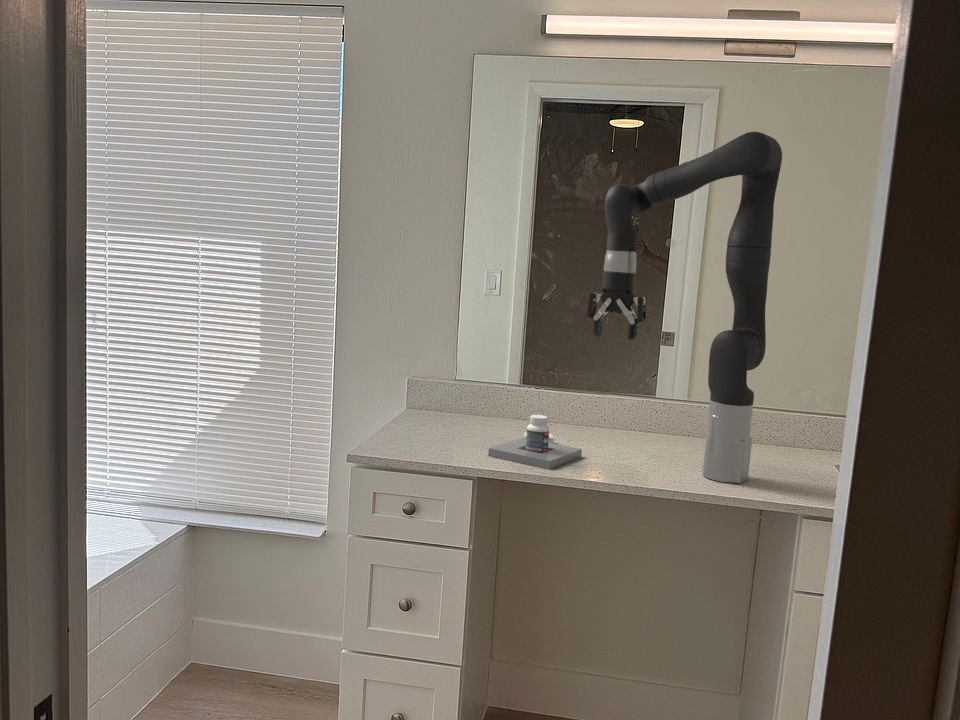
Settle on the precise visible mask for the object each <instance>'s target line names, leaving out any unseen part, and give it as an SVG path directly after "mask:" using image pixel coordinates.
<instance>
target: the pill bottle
mask: <svg viewBox="0 0 960 720" xmlns="http://www.w3.org/2000/svg"><path fill="white" fill-rule="evenodd" d="M548 420H549V419H548V416H546V415H542V414H531V415H530V418H529V421H530V423H529V424H528V425H527V427H526V432H527V439H526V451H531V452H536V453H541V454H542V453H545V452H547V451H548V441H549V434H550V427H549V426H548V425H547V424H548Z"/></svg>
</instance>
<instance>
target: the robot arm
mask: <svg viewBox="0 0 960 720" xmlns="http://www.w3.org/2000/svg"><path fill="white" fill-rule="evenodd" d="M782 161H783V152H782V147H781V145H780V143H779V141H778V140H777V139H776V138H774V137H772V136H770V135H767V134H765V133H764V132H760V131H749V132H745V133H743V134H741V135H739V136H737V137H736V138H733V139H732V140H730V141H728V142H726V143H725V144H723V145H721V146H719V147H718V148H716V149H714V150H711V151H710V152H708V153H706V154H704V155H701V156H699V157H696V158H695V159H692V160H688V161H686V162H684V163H680V164H678V165H675V166H673V167H669V168H667V169H663V170H661V171H659V172H656V173H653V174H650V175H649V176H648V177H646V178H645V180H644V181H642V182H640V183H637V184H634V185H630V184H624V183H618V184H614V185H612V186H611V187H610V188H609V190H608V191H607V192H606V195H605V200H604V214H605V220H606V221H605V222H606V228H607V239H606V241H607V242H606V250H605V252H606V253H605V257H604V262H603V263H604V264H603V274H602V276H603V277H602V278H603V279H602V291H601V293H597V292H590V293H589V294H588V295H589V296H588V302H587V303H588V304H587V313H586V317H587V318H590V319H593V331H592V332H593V335H594V336H595V337H602V331H603V320H602V319H604V317H605V316H606V315H607V314H608V313H615V314H623V315H624V316H625V317H626V318H627V320H628V323H630V324H628V335H627V340H628V341H634V340H635V339H636V338H637V335H638V325H639V324H641V323H645V322H646V320H647V297H646V296H639V297H638V296H637V297H636V296H635V294H634V293H635V286H636V276H637V275H636V272H637V249H638V230H637V228H635V227H634V226H633V218H632V217H633V216H637V215H641V214H643V213H646V212H647V211H649V210H652V209H654V208H655V207H657V206H659V205H662V204H666V203H668V202H672V201H674V200H677V199H680V198H683V197H685V196H688V195H690V194H692V193H694V192H696V191H697V190H699V189H701V188H702V187H705V185H708V184H711V183H713V182H715V181H718V180H722V179H725V178H730V177H737V176H741V195H740V196H741V197H740V201H739V206H738V209H737V212H736V215H735V216H734V219H733V222H732V225H731V228H730V230H729V233H728V237H727V243H726V253H725V273H726V279H727V282H728V283H727V284H728V286H729V289H730V292H731V296H732V300H733V307H734V308H733V310H734V311H733V320H732V323H733V324H732V329H727V330H724V331H721V332H719V333H718V334H716V335H715V337H714V339H713V340H712V343H711V345H710V350H709V357H708V358H709V359H708V373H707V374H708V376H707V377H708V378H707V383H708V388H709V392H710V394H709V395H710V397H709V405H708V406H709V409H708V416H707V425H706V426H707V428H706V435H705V436H706V438H705V448H704V457H703V464H702V476H703V477H704V478H707V479H709V480H713V481H717V482H723V483H734V484H735V483H736V484H742V483H744V482H745V481H747V480H748V479H749V473H750V464H751V453H752V444H753V436H751V429H752V420H753V410H754V409H753V408H754V401H755V393H754V391H753V390H752V389H750V388H749V386H748V384H747V382H748V381H747V378H748V376H747V375H748V371H752V370H753V371H754V370H755V369H757V368H758V367H759V366H760V365H761V363H762V362H763V360H764V358H765V354H766V345H767V343H766V337H767V336H766V307H767V296H768V285H769V284H768V283H769V282H768V280H769V273H770V272H769V271H770V265H771V255H772V239H773V236H772V235H773V227H774V225H773V224H774V211H775V209H774V207H775V197H776V192H777V186H778V182H779V177H780V172H781V167H782ZM600 301H601V303H602V305H601V306H600V307H599V308H598V303H599V302H600ZM634 303H635V305H636V306H637V312H636V313H637V314H636V313H635V310H634V309H633V307H632V306H633V304H634ZM597 308H598V310H597Z"/></svg>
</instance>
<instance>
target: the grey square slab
mask: <svg viewBox="0 0 960 720" xmlns="http://www.w3.org/2000/svg"><path fill="white" fill-rule="evenodd" d="M526 439H527V438H524V436H523V437H520V438H517V439H514V440H511V441H508V442H504V443H501V444H497V445H495V446H492V447H488V454H487V455H488V457H492V458H497V459H502V460H507V461H511V462H515V463H519V464H524V465H530V466H534V467H539V468H542V469H547V470H551V469H552V468H555V467H558V466H560V465H563V464H565V463H568V462H571V461H573V460H576V459H579V458H582V452H583V449H582V448H579V447H578V448H577V447H573V446H569V445H568V446H567V445H565V444H564V445H563V444H557V443H554V442H553V443H549V442H548V451H547V452H545V453H542V454H541V453H536V452H531V451H526Z"/></svg>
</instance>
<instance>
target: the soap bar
mask: <svg viewBox="0 0 960 720" xmlns="http://www.w3.org/2000/svg"><path fill="white" fill-rule="evenodd" d="M523 437H524V438H527V431H526V432H523ZM554 439H555V438H554V436H553V434H552V433H549V441H548V442H549V443H554Z"/></svg>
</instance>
